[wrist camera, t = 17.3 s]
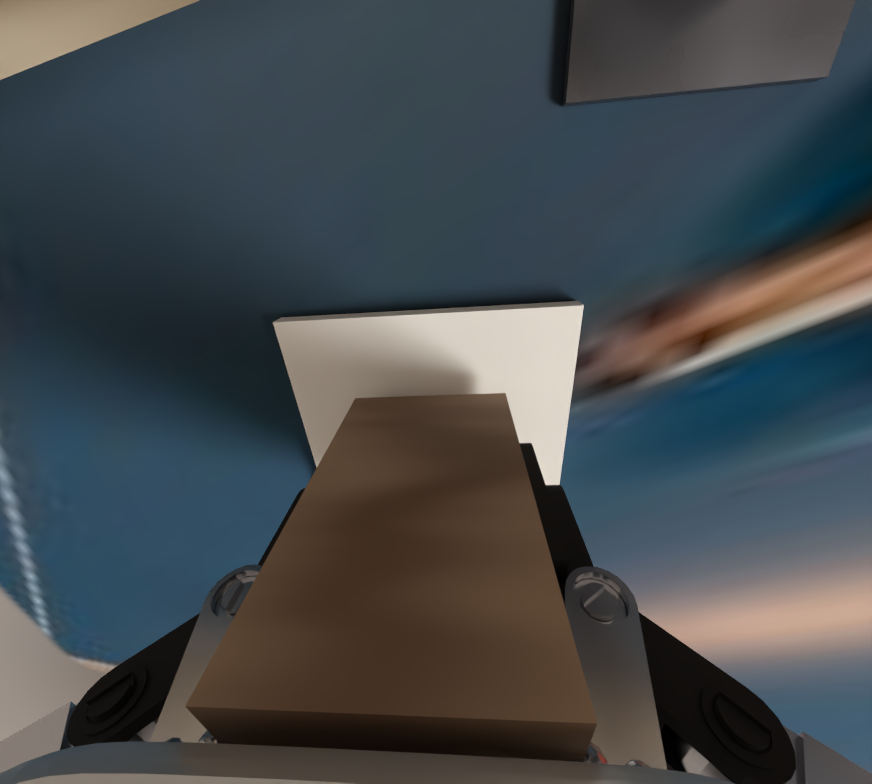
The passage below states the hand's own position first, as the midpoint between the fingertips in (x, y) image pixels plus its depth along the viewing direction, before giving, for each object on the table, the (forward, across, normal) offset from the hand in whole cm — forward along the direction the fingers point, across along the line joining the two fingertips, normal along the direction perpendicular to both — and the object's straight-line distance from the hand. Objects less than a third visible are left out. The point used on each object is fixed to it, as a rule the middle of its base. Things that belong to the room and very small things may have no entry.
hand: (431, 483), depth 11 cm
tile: (+3, 0, 0) cm, 3 cm away
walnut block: (+1, 0, 0) cm, 1 cm away
